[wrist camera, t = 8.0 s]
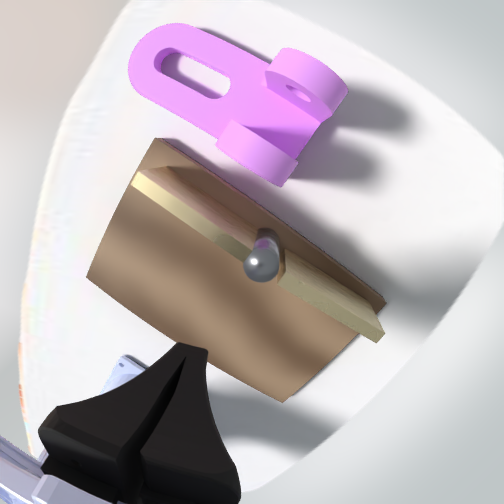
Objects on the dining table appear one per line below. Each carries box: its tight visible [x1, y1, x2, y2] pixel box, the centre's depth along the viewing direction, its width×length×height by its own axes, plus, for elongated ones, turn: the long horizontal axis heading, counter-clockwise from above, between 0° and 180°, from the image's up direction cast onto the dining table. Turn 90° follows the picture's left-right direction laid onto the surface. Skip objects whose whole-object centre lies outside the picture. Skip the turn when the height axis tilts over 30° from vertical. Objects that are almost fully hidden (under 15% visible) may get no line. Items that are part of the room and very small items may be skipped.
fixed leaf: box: [131, 166, 280, 283], centre depth 17 cm, size 2×9×4 cm, turn 55°
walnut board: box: [86, 138, 386, 403], centre depth 21 cm, size 12×19×1 cm, turn 55°
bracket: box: [128, 23, 348, 187], centre depth 14 cm, size 13×6×7 cm, turn 57°
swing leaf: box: [277, 248, 385, 343], centre depth 18 cm, size 1×7×4 cm, turn 58°
